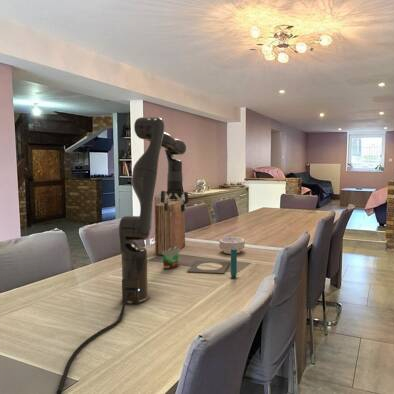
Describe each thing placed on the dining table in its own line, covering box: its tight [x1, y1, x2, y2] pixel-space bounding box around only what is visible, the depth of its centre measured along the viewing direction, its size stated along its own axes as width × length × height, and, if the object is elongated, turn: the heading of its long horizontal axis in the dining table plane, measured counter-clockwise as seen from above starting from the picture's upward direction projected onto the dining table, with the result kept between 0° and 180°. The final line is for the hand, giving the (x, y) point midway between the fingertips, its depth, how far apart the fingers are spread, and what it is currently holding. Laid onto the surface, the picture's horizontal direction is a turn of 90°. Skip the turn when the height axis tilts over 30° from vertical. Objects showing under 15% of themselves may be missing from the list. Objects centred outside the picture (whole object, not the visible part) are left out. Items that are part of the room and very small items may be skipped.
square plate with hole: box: [187, 260, 231, 275], centre depth 175 cm, size 18×18×1 cm
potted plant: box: [161, 245, 181, 270], centre depth 175 cm, size 12×6×10 cm, turn 168°
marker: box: [230, 248, 238, 280], centre depth 159 cm, size 3×3×14 cm
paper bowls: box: [219, 236, 245, 255], centre depth 206 cm, size 15×15×8 cm
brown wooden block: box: [154, 199, 186, 256], centre depth 207 cm, size 25×9×30 cm, turn 174°
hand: (174, 211), depth 175 cm, fingers open, 8 cm apart
